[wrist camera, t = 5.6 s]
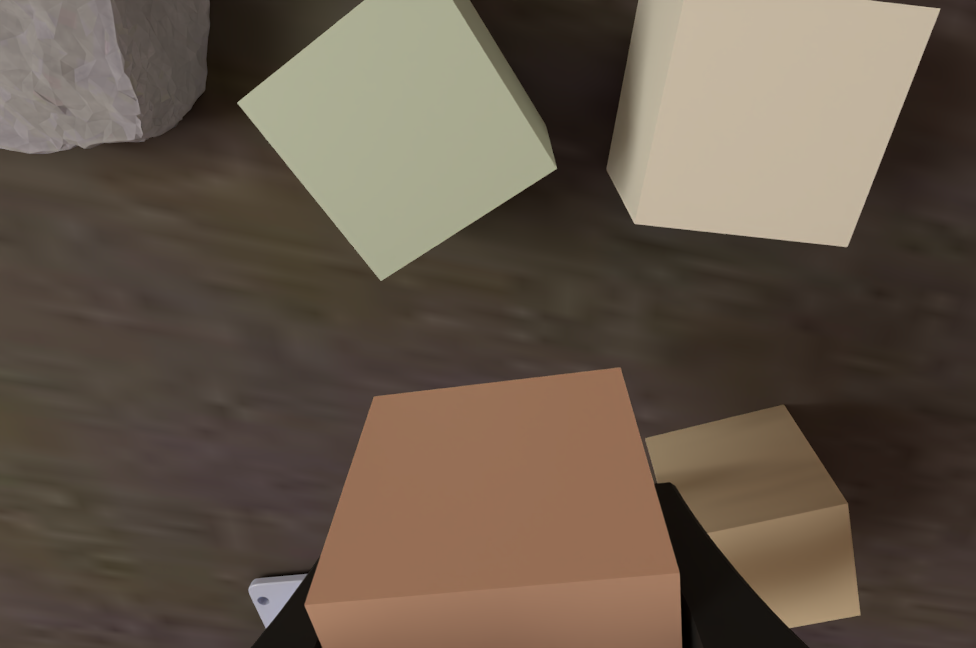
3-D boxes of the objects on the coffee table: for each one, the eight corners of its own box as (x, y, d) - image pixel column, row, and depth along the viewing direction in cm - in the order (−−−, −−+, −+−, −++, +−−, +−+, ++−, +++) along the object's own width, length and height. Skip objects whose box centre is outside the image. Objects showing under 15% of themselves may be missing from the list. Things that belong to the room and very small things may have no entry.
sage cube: (546, 124, 19) (556, 168, 14) (409, 215, 20) (381, 280, 16) (445, -39, 17) (423, -48, 12) (303, 73, 18) (236, 102, 14)
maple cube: (798, 503, 25) (860, 615, 21) (671, 531, 26) (704, 643, 22) (783, 403, 23) (847, 503, 18) (644, 436, 24) (674, 540, 19)
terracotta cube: (634, 549, 15) (686, 787, 10) (423, 568, 15) (388, 803, 11) (620, 367, 13) (680, 573, 8) (373, 396, 13) (304, 605, 9)
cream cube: (770, 187, 19) (847, 246, 15) (605, 168, 19) (634, 223, 15) (828, 2, 17) (940, 8, 13) (641, -20, 17) (688, -22, 12)
